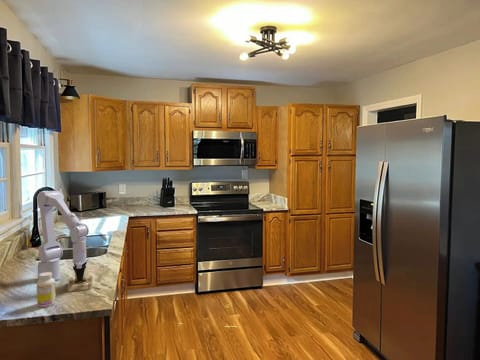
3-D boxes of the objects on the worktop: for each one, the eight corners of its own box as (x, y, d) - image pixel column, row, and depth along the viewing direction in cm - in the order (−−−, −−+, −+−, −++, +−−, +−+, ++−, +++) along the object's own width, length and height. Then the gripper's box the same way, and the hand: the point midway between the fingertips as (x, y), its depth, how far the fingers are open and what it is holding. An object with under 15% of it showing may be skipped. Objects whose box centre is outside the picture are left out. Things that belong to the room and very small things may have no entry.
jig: (67, 291, 160) (67, 286, 160) (69, 283, 171) (69, 278, 171) (91, 289, 164) (91, 283, 164) (92, 280, 175) (92, 275, 175)
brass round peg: (75, 285, 165) (74, 271, 164) (75, 283, 169) (74, 268, 168) (84, 284, 166) (83, 269, 166) (84, 281, 170) (84, 267, 170)
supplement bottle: (46, 300, 151) (45, 270, 150) (59, 302, 149) (58, 272, 148) (33, 306, 145) (32, 275, 144) (46, 308, 143) (45, 277, 142)
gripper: (88, 253, 161) (89, 283, 162) (89, 246, 175) (89, 273, 176) (71, 255, 159) (72, 285, 160) (73, 247, 172) (74, 275, 173)
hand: (80, 279), depth 167 cm, fingers closed on brass round peg, 4 cm apart
